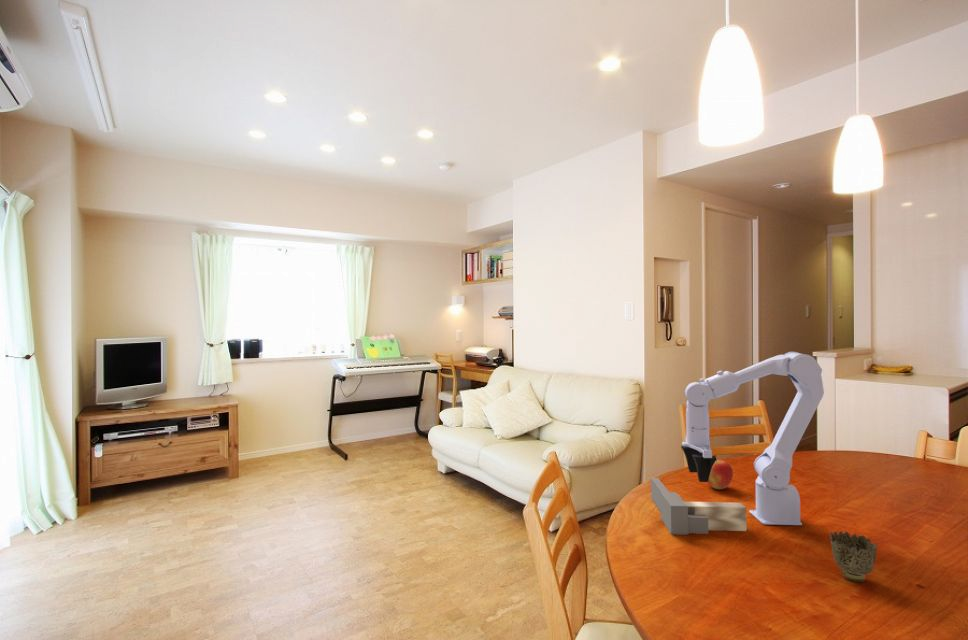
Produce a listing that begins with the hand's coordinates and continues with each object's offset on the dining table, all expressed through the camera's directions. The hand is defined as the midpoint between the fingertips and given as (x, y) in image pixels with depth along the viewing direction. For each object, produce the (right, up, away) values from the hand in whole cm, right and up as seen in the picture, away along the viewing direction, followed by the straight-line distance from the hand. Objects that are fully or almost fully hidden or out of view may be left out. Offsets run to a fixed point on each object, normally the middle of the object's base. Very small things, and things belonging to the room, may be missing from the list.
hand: (698, 476), depth 129 cm
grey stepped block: (-7, -10, -2) cm, 12 cm away
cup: (+16, -10, -34) cm, 38 cm away
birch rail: (0, -10, -10) cm, 14 cm away
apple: (+14, -9, +17) cm, 24 cm away
